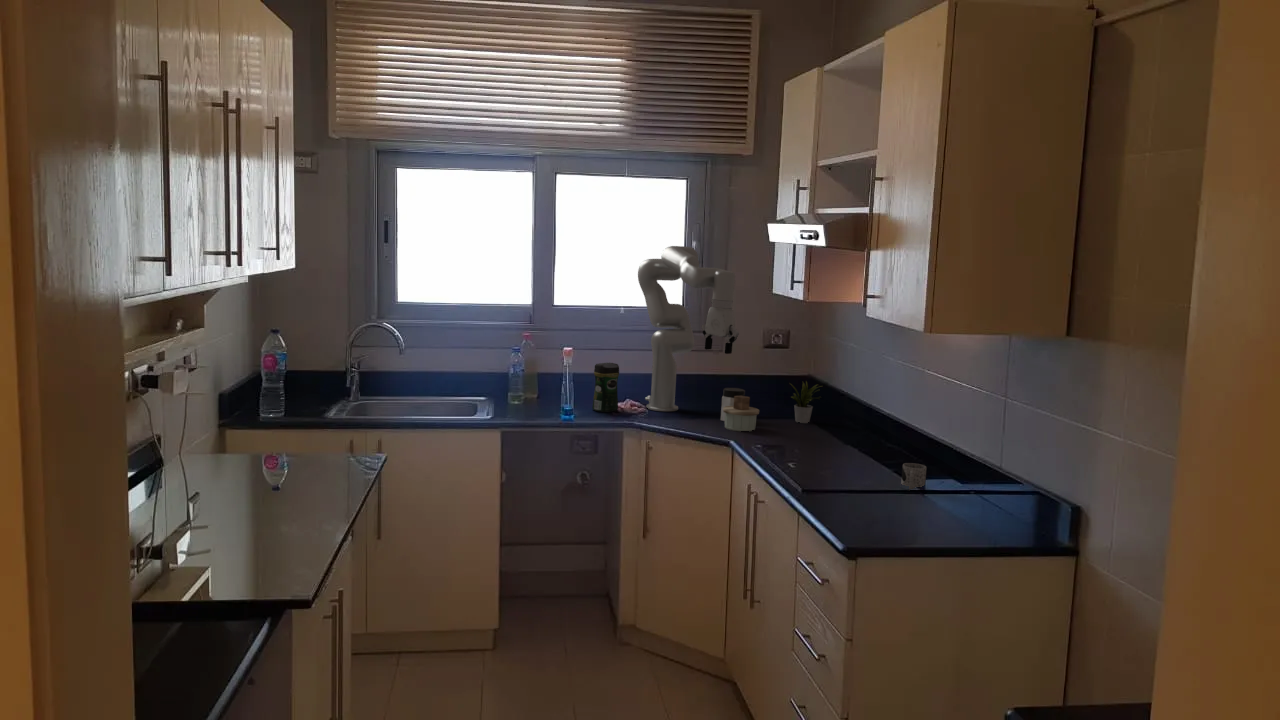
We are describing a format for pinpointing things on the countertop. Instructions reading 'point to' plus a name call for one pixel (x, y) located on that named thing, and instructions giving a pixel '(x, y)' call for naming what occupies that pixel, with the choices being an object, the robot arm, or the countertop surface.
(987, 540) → the countertop surface
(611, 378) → the coffee jar
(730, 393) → the jar
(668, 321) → the robot arm
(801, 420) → the house plant
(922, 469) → the mug
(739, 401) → the lid
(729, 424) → the bowl
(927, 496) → the countertop surface
